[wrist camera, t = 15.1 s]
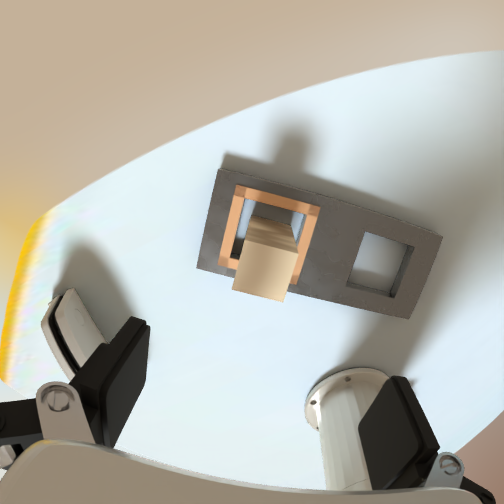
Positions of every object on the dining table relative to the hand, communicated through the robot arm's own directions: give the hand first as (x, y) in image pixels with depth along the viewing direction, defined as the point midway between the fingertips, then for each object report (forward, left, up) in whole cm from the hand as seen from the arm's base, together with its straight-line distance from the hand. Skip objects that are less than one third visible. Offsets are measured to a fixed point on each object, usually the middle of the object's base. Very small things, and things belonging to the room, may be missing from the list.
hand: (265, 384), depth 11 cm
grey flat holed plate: (-6, 0, -22) cm, 23 cm away
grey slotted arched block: (+17, +20, -22) cm, 34 cm away
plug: (0, +1, -22) cm, 22 cm away
